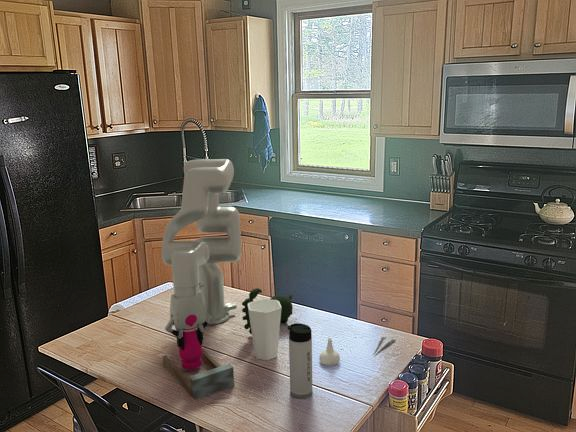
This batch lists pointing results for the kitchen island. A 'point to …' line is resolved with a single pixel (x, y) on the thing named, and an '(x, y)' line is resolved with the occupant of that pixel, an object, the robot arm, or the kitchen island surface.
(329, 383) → the kitchen island surface
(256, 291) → the toy figurine
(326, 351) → the garlic bulb
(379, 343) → the tweezers
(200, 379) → the guide channel
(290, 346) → the travel mug
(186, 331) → the pepper mill
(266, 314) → the cup
